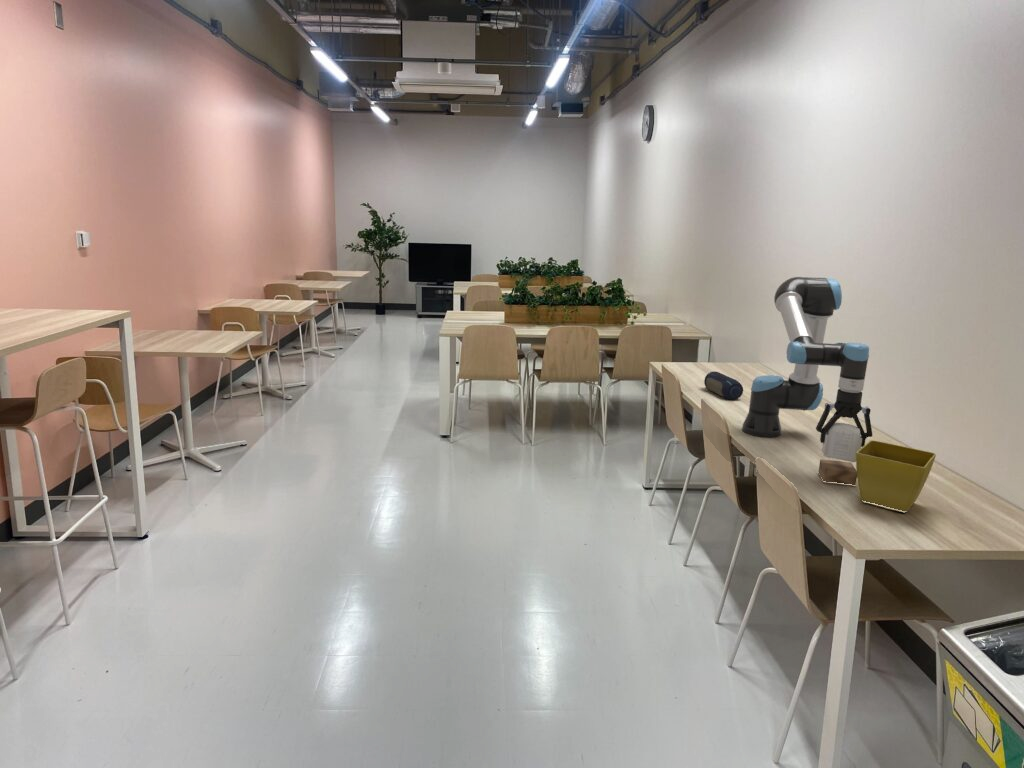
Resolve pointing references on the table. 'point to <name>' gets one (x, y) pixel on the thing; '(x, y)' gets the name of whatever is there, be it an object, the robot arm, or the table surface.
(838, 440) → the photo printer
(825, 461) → the walnut block
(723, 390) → the portable speaker
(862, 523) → the table surface
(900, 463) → the flower pot
